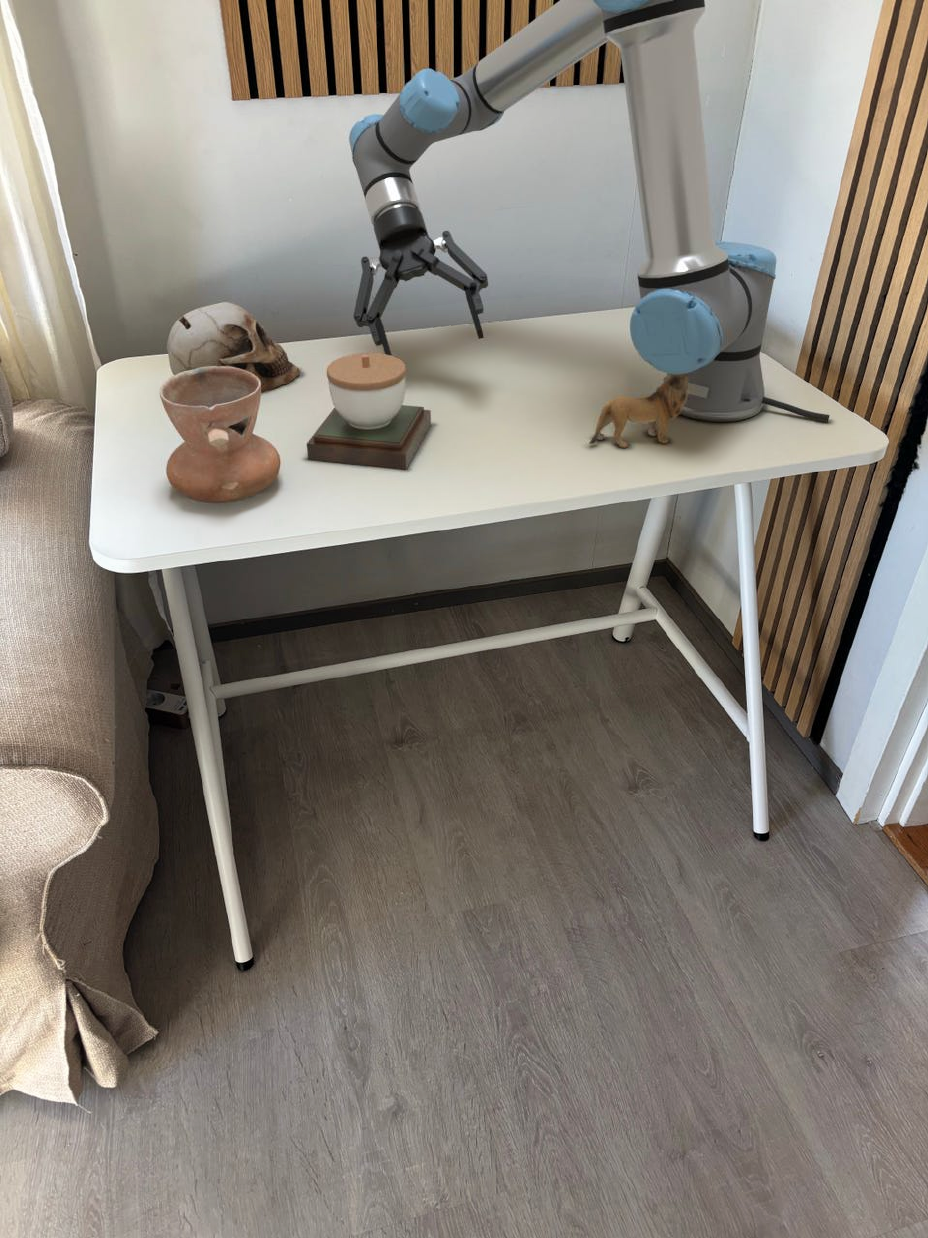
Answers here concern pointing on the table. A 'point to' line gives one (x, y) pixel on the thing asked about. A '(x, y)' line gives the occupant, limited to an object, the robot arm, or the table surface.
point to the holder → (371, 440)
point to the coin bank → (228, 345)
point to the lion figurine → (646, 409)
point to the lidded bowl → (367, 388)
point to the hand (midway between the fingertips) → (435, 348)
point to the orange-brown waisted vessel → (217, 435)
